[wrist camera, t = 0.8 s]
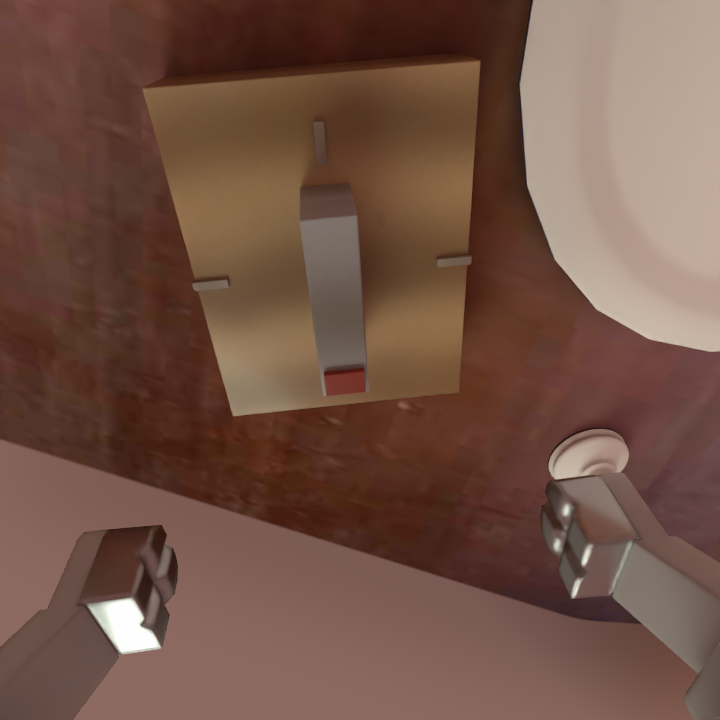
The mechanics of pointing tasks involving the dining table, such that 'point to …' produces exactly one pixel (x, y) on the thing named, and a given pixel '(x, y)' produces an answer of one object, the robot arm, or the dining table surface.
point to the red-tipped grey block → (335, 286)
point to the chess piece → (589, 454)
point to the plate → (629, 157)
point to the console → (281, 215)
